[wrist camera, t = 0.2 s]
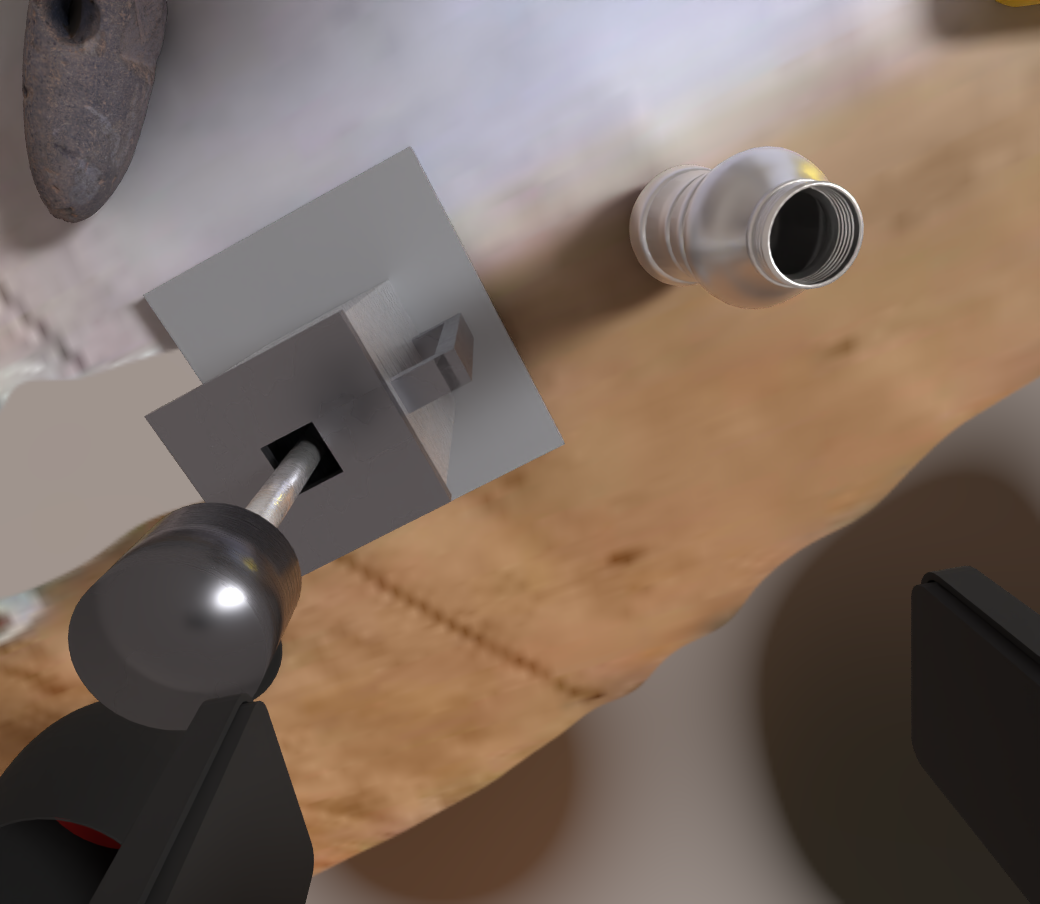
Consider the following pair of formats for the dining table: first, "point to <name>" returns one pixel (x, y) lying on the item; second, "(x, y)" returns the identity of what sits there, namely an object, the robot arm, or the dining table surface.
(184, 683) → the dark grey cylinder
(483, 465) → the grey board
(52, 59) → the perforated stone tool
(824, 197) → the plastic bottle
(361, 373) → the grey block
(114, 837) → the wine glass
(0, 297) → the dining table surface
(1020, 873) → the robot arm
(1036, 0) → the element tile
